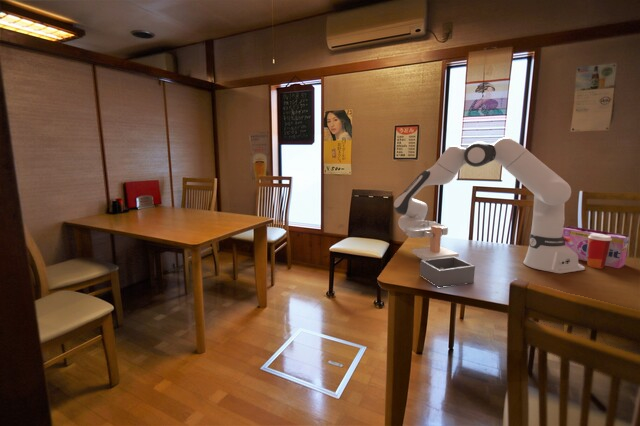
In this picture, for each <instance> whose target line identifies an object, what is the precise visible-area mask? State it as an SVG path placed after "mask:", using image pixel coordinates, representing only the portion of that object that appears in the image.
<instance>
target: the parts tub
mask: <svg viewBox="0 0 640 426" xmlns="http://www.w3.org/2000/svg"><path fill="white" fill-rule="evenodd" d="M419 268H420V269H419V276H420V275H421V276H423V277H424V278H426V279H427V280H429V281H430V282H432V283H433V284H435V285H436V286H438V287H443V286H451V285H457V286H460V285H459V284H464V285H466V284H465V283H471V284H474V283H475V270H476V265H474V264H471V263H469V262H467V261H465V260H463V259H461V258H459V257H454V256H453V257H445V258H436V259H428V260H423V259H421V260H420V266H419ZM451 287H452V286H451Z"/></svg>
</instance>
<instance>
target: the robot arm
mask: <svg viewBox="0 0 640 426" xmlns="http://www.w3.org/2000/svg"><path fill="white" fill-rule="evenodd" d="M491 162H497V163H498V164H499V165H501V167H503V168H504V169H505V170H506V171H507V172H508V173H509V174H511V176H513V177H514V178H515V179H517V181H518V182H519V183H520V184H521V185H523V186H524V187H525V188H526V189H527V190H529V191H530V192H531V193H532V194H533V207H532V208H533V210H532V211H533V213H532V225H531V231H530V233H529V239H528V243H529V245H528V249H527V251H526V255H525V258H524V260H523V264H524V265H525V266H527V267H529V268H532V269H535V270H540V271H543V272H544V271H545V272H550V273H555V274H565V273H566V274H567V273H571V272H573V273H574V272H579V271H585V269H586V268H585V266H583V265H582V264H580V263H579V259H578V255H577V254H576V253H575V252H574V251H572V250H571V249H570V248H569V247H567V246H566V245H565V241H566V242H570V241H571V238H568V237H563V236H562V235H563V228H565V227H564V226H565V219H566V218H565V205H566V204H565V203H566V202H568V201H569V200H570V198H571V196H572V188H571V186H570V184H569V183H568V182H567V181H565V180H564V179H563V178H562V177H561V176H560V175H559V174H557V172H555V171H553V169H551V168H549V167H548V166H547V165H546V164H545V163H544V162H542V160H540V159H539V158H537V157H536V156H535V155H534V154H533V153H532V152H531V151H529V150H528V149H527V148H526V147H524V146H523V145H522V144H520V143H519V142H517V141H516V140H514V139H513V138H511V137H501V138H499V139H498V140H496V141H495V142H494V143H487V142H485V141H475V142H472V143H471V144H469V145H468V146H467V147H466V148H465V147H462V146H459V145H450V146H449V147H448V148H447V149H445V150H444V152H443V153H442V154H441V155H440V156H439V158H438V159H437V160H436V162H435V163H434V165H432V166H431V167H430V168H428V169H427V170H423V171H421V173H419V175H417V177H415V179H414V180H413V181H412V182H411V183H410V184H409V185H408V186H407V188H406V189H405V190H404V191H403V192H401V194H399V195H398V196H397V197H396V198H395V199H394V201H393V209H394V211H395V212H396V214H398V215H401V216H400V217H399V218H398V220H397V221H398V222H397V224H398V226H399V229H401V230H402V232H403V233H405V234H406V236H407V237H409V238H411V239H417V238H419V239H422V238H426V237H427V238H430V239H431V238H432V237H435V236H434V235H435V234H434V233H431V226H435V225H436V226H439V227H441V237H443V236H447V235H448V233H449V229H448V227H447V226H446V225H444V224H441V223H437V221H435V220H434V221H432V220H426V219H427V218H428V215H429V212H430V211H429V210H430V209H429V205H428V204H427V203H426V202H424V201H421V200H419V199H416V198H414V197H415V196H416V195H417V194H418V193H419V192H420V191H421V190H422V189H423V188H424V187H427V186H433V185H435V186H436V185H437V186H440V185H441V186H442V185H447V184H449V183H451V182H452V180H454V179H455V177H456V175H457V174H458V173H459V171H460V170H461V169H462V168H463V166H465V165H469V166H470V167H474V168H479V167H482V166H483V167H484V166H485V165H487V164H489V163H491Z"/></svg>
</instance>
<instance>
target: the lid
mask: <svg viewBox="0 0 640 426" xmlns="http://www.w3.org/2000/svg"><path fill="white" fill-rule="evenodd" d="M431 233H434V234H435V235H434V236H435V237H432V238H431V237H430V240H429V241H430V243H429V247H423V248H421V247H420V248H412V249H411V253H412V254H414V255H415V256H416V257H418V258H419V259H421V260H428V259H436V258H445V257H453V256H454V257H456V258H459V255H460V253H458V252H456V251H453V250H451V249H449V248H446V247H444V246H442V245H441V238H442V236H441V227H439V226H436V225H435V226H431Z"/></svg>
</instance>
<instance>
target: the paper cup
mask: <svg viewBox="0 0 640 426" xmlns="http://www.w3.org/2000/svg"><path fill="white" fill-rule="evenodd" d="M588 237H589V244H588V257H587V261H586V265H587V266H588V267H590V268H592V269H593V268H594V269H604V268H605V266H606V265H605V262H606V258H607V254H608V250H609V245H610V241H611V240H612V239H611V236H608V235H605V234H596V233H592V234H590V235H589V236H588Z"/></svg>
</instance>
